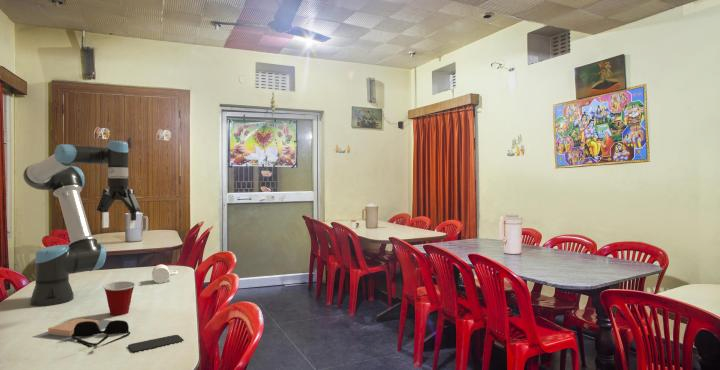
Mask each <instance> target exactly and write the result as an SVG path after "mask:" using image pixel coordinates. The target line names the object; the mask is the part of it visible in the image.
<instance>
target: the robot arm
mask: <svg viewBox="0 0 720 370" xmlns="http://www.w3.org/2000/svg"><path fill="white" fill-rule="evenodd" d="M129 152H130V151H129V144H128V142H126V141H123V140H110V141H108V142H107V145H106V146H97V145H94V146H91V145H78V144H69V143H67V144H66V143H65V144H61V143H60V144H58V145H57V146H56V147H55V149H54V153H53V154H52V155H50V156H48V157H46V158H45V159H43V160H41V161H39V162H34V163H31V164H30V165H28V166H26V168H25V169H24V171H23V174H22V177H23V180H24V182H25V183H26V184H27V185H28V186H29V187H31V188H33V189H36V190H39V191H40V190H41V191H52V194H53V196H54V197H56V198H58V201H59V205H60V209H61V212H62V216H63V220H64V223H65V228H66V231H67V233H68V238H69V241H70V242H69V243H68V244H58V245H52V246H46V247H43V248H39V249H38V250H37V251H36V252H35V258H34V259H35V260H34V264H35V269H34V270H35V284H34V285H35V286H34V288H33V292H32V294H31V297H30V300H29V302H30V305H31V306H34V305H37V307H43V306H44V305H45V306H53V305H60V304H63V303H68V302H70V301H72V300H74V299H75V298H74V296H75V294H74V291H73V289H72V286H71V284H70V279H69V277H70V276H69V275H71V274H79V273H84V272H92V271H95V270H100V269H101V268H102V267H103V266H104V264H105V261H106V259H107V248H106V246H105V245H104V244H103V243H99V242H98V240H97V238H96V237H93V236H92V232H91V230H90V224H89V222H88V219H87V215H86V210H85V208H84V205H83V201H82V197H81V194H80V193H81V192H82V191H83V188H84V186H85V183H86V181H85V175H84V172H83V171H82V169H81V168H79V167H77V166H75V165H77V164H79V165H80V164H81V165H83V164H85V165H100V166H101V165H102V166H105V165H107V177H108V179H107V187H108V188H104V189H102V196H101V197H100V199H99V203H98V205H97V207H96V211H98V212H100V220H101V228H102V229H105V228H109V227H110V219H109V218H110V212H109V209H110V207H111V206H112V205H113V204H114V202H115V201H121V202H123V204H124V205H125V207H126V208H127V210H128V211H129V213H128V217H127V218H128V222H127V223H128V229H129V230H130V229H131V230H132V229H136V220H137V212H140V211H141V208H140V205H139V202H138V200H137V198H136V196H135V189H132V188H128V187H129ZM41 305H42V306H41ZM45 306H44V307H45Z"/></svg>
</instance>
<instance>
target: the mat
mask: <svg viewBox="0 0 720 370" xmlns="http://www.w3.org/2000/svg"><path fill="white" fill-rule="evenodd" d="M84 319H92V320H99V328H100V330H101V331H103V330H105V328H106V326H107V325H108V323H109V322H111V321H112V320H110V319H109V320H108V319H100V318H90V317H86V318H84ZM32 338H38V339H46V340H54V341H62V342H70V343H71V342H73V341H77V340H76V339H74V338H71V337H64V336H55V335H49V334H48V331H46V332H42V333H40V334H37V335H34V336H32ZM77 338H79V339H82V337H77Z"/></svg>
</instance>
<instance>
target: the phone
mask: <svg viewBox="0 0 720 370" xmlns="http://www.w3.org/2000/svg"><path fill="white" fill-rule="evenodd" d="M182 341H183V342H184V339H183V338H182V336H180V335H179V334H172V335H168V336H163V337H157V338H154V339H149V340H143V341H139V342H134V343H130V344H127V345H128V346H127V348H128V349H129V351H130V352H131V353H132V352H133V354H136V353H135V352H137V353H140V352H139V351H141V352H144V350H146V351H150V350H154V349H158V347H159V348H163V347H167V346H171V345H170V344H172V345H176V344H180V343H183V342H182ZM179 342H180V343H179ZM175 343H176V344H175ZM166 345H167V346H166ZM162 346H163V347H162ZM149 349H150V350H149Z"/></svg>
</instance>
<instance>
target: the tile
mask: <svg viewBox="0 0 720 370" xmlns="http://www.w3.org/2000/svg"><path fill="white" fill-rule="evenodd" d="M92 319H93V318H90V319H85V318H82V317H81V318H80V317H78V318H73V319H72V320H69V321H65V322H63V323H60V324H57V325H54V326H51V327H48V329H47V330H48V331H47V332H48V334H49V335H55V336H64V337H71V335H72V334H74V328H75V326H76V324H77V323H79V322H84V321H93V322H96V323H97V324H98V326H99V320H92Z"/></svg>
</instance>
